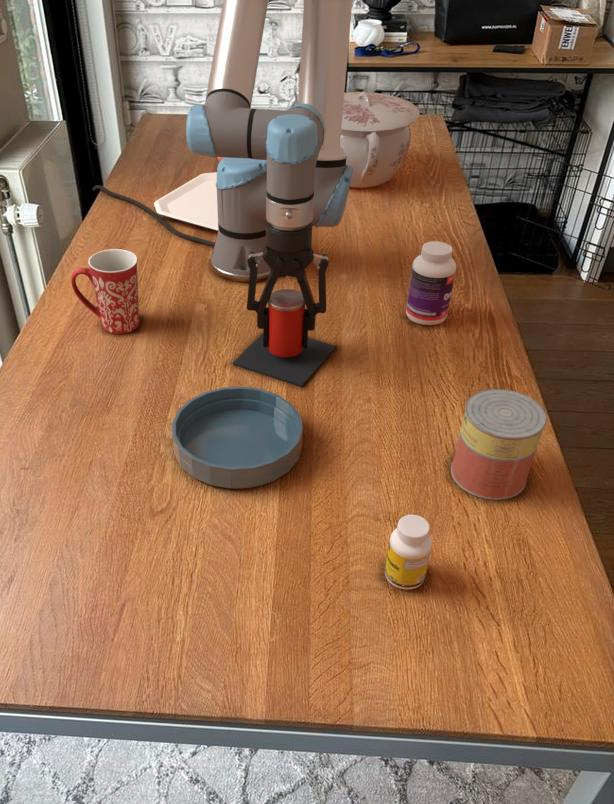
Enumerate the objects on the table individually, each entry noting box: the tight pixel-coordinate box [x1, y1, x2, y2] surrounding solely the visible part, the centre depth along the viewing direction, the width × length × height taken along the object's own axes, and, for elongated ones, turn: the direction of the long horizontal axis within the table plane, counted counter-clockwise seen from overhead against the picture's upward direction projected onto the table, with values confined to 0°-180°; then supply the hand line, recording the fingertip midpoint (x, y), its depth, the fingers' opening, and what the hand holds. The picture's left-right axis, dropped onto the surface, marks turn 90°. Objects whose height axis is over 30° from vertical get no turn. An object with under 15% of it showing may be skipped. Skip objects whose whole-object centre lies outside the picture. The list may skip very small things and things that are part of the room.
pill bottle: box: [405, 240, 457, 326], centre depth 147 cm, size 8×8×14 cm
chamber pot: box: [340, 91, 421, 189], centre depth 195 cm, size 28×28×21 cm
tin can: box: [267, 288, 306, 357], centre depth 138 cm, size 7×7×10 cm
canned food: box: [450, 388, 548, 501], centre depth 115 cm, size 11×11×12 cm
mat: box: [232, 333, 337, 388], centre depth 142 cm, size 14×14×1 cm
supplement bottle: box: [384, 514, 433, 590], centre depth 101 cm, size 5×5×10 cm
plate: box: [153, 171, 218, 233], centre depth 188 cm, size 29×29×2 cm
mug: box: [70, 248, 140, 335], centre depth 146 cm, size 13×9×14 cm
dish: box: [171, 385, 304, 490], centre depth 122 cm, size 20×20×4 cm
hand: (285, 343), depth 141 cm, fingers closed on tin can, 6 cm apart
